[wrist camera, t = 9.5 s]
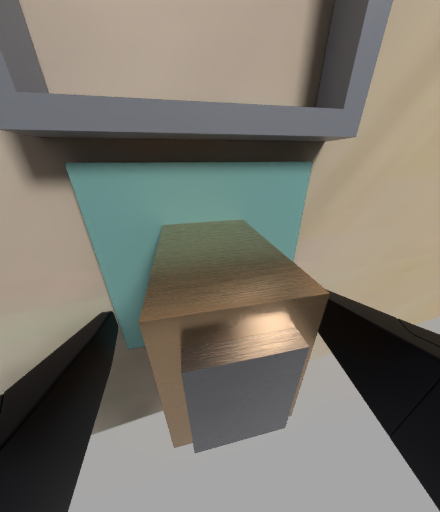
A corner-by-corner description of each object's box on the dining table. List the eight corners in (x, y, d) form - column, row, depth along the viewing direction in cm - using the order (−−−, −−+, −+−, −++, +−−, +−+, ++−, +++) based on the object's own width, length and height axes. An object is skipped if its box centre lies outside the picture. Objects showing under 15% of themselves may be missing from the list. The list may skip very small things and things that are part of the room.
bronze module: (176, 309, 13) (173, 472, 6) (162, 224, 10) (132, 347, 3) (239, 300, 13) (299, 435, 7) (242, 219, 11) (350, 310, 4)
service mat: (129, 342, 14) (128, 349, 13) (71, 163, 8) (64, 163, 8) (278, 317, 16) (281, 323, 15) (305, 161, 11) (312, 161, 10)
